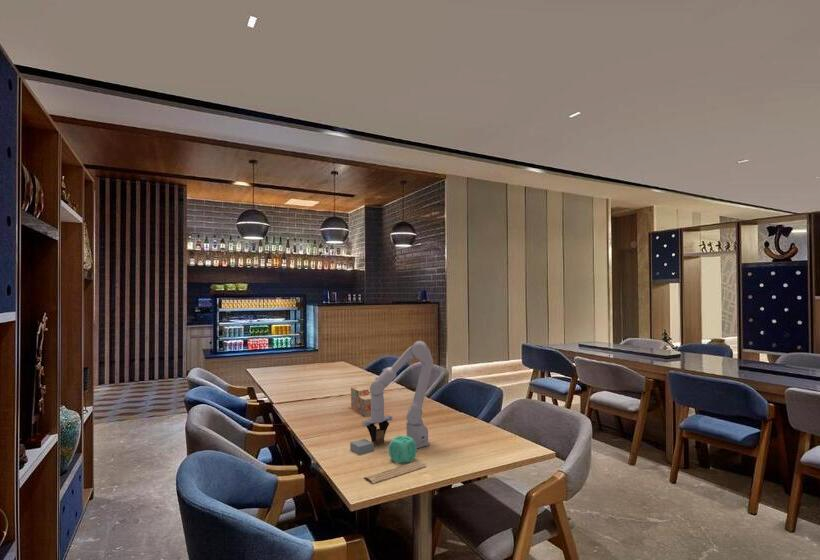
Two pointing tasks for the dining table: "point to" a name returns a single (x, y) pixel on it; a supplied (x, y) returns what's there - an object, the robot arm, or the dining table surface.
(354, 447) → the pedestal block
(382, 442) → the walnut block
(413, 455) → the decorative dice
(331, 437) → the dining table surface
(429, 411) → the dining table surface
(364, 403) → the stack of blocks
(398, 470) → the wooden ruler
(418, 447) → the robot arm
